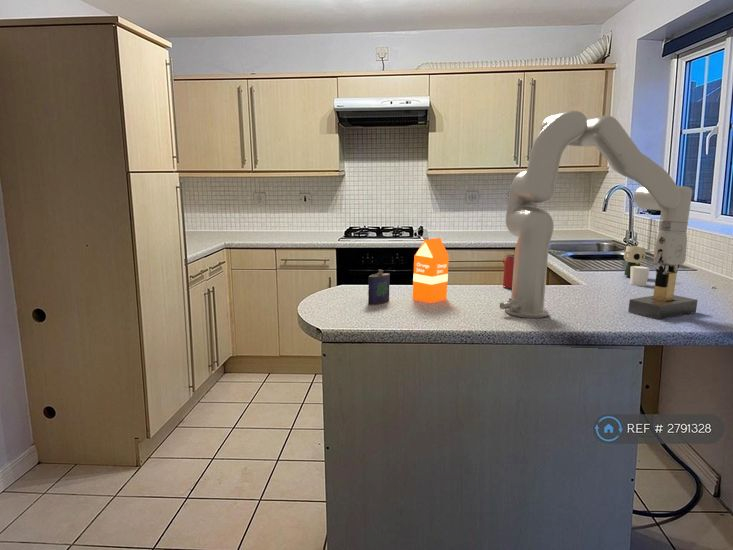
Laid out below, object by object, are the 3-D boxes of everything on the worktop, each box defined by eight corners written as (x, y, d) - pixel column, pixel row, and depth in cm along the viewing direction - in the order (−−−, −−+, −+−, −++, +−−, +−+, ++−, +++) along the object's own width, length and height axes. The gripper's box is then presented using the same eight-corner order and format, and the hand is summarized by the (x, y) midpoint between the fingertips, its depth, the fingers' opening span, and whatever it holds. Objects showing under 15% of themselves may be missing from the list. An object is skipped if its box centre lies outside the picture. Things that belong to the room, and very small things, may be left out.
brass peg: (664, 305, 168) (669, 273, 167) (652, 302, 172) (656, 271, 170) (672, 304, 171) (676, 273, 169) (659, 301, 174) (664, 270, 172)
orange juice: (412, 298, 181) (414, 238, 177) (428, 295, 187) (430, 236, 183) (431, 303, 175) (434, 241, 172) (447, 299, 182) (450, 239, 178)
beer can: (507, 285, 208) (509, 253, 206) (523, 287, 204) (526, 255, 202) (499, 287, 203) (501, 255, 201) (516, 290, 199) (518, 257, 197)
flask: (385, 299, 179) (386, 267, 177) (391, 301, 177) (393, 268, 175) (365, 304, 172) (366, 270, 170) (372, 305, 170) (373, 271, 168)
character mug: (628, 279, 227) (631, 248, 225) (615, 276, 234) (618, 245, 231) (649, 278, 231) (652, 247, 228) (635, 275, 237) (639, 245, 235)
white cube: (651, 286, 213) (653, 268, 212) (633, 286, 213) (635, 268, 212) (642, 283, 220) (644, 265, 218) (625, 282, 220) (627, 265, 218)
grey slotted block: (659, 319, 162) (660, 306, 162) (628, 311, 171) (629, 299, 170) (695, 312, 173) (697, 299, 172) (664, 305, 181) (666, 293, 180)
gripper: (669, 228, 159) (660, 290, 163) (700, 227, 168) (691, 286, 171) (645, 226, 166) (637, 285, 169) (676, 225, 174) (668, 282, 178)
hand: (664, 285), depth 170 cm, fingers closed on brass peg, 4 cm apart
